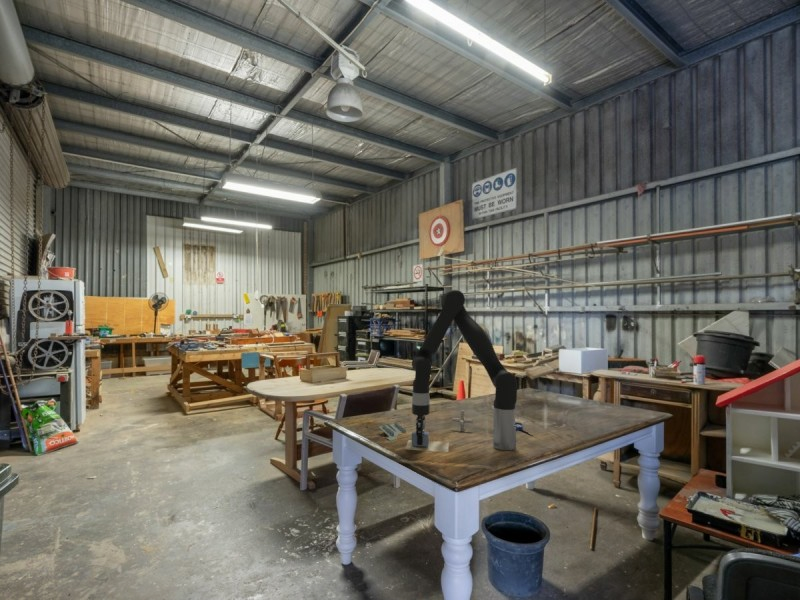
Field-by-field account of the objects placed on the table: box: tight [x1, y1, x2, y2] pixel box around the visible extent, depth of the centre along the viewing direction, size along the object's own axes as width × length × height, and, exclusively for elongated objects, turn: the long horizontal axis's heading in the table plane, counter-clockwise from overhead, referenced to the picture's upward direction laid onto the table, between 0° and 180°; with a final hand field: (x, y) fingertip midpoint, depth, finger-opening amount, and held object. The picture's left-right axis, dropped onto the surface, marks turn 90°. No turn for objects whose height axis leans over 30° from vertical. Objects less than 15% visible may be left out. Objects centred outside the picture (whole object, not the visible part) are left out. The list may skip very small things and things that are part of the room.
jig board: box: [404, 439, 450, 453], centre depth 171 cm, size 18×13×4 cm
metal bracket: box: [378, 421, 407, 441], centre depth 190 cm, size 14×6×15 cm
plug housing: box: [411, 430, 430, 447], centre depth 171 cm, size 7×4×5 cm, turn 81°
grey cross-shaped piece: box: [451, 410, 474, 432], centre depth 199 cm, size 10×10×10 cm
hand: (420, 442), depth 171 cm, fingers open, 4 cm apart
